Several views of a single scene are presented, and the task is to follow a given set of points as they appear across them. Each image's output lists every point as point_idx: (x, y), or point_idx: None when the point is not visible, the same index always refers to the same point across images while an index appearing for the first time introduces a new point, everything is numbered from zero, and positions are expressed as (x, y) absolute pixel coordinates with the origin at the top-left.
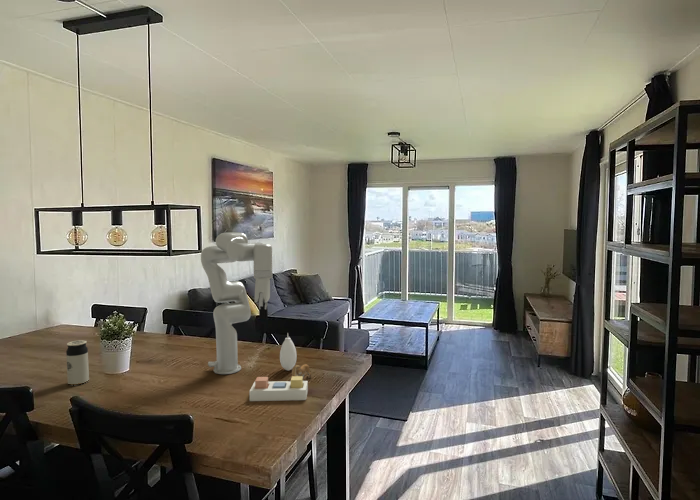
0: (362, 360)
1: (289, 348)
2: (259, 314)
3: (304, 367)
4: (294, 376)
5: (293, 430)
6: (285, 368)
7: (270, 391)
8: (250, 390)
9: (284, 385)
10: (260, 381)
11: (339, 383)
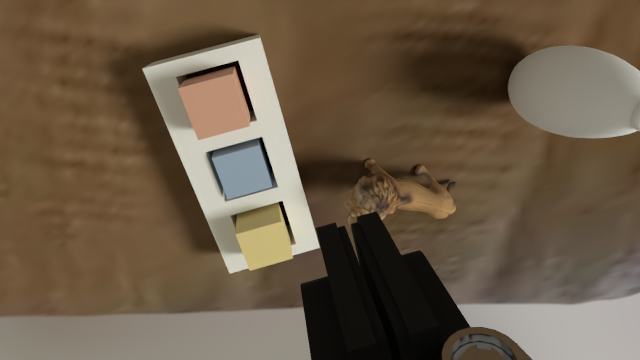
0: (600, 293)
1: (573, 123)
2: (327, 271)
3: (422, 211)
4: (281, 231)
5: (5, 298)
6: (510, 76)
7: (180, 156)
8: (149, 70)
9: (237, 196)
10: (187, 112)
11: None
